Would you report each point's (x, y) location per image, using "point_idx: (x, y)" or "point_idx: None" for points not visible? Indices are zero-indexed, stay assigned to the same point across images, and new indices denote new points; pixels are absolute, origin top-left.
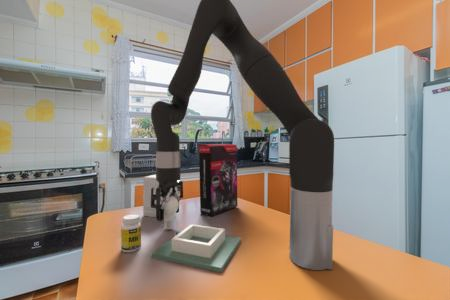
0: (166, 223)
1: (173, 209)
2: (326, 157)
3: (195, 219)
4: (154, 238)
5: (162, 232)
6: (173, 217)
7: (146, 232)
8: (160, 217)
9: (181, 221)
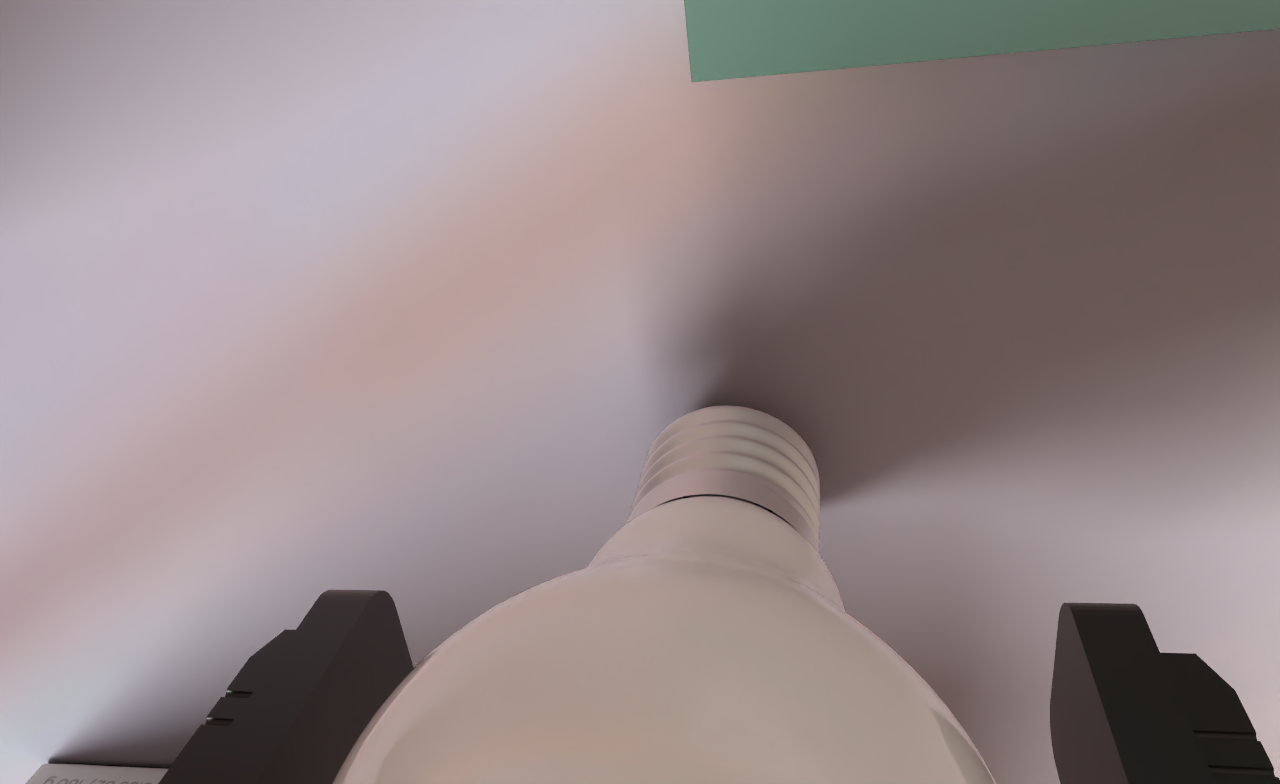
0: (813, 547)
1: (813, 642)
2: None
3: (32, 269)
4: (1214, 458)
5: (901, 482)
6: (676, 520)
7: (1001, 705)
8: (1215, 707)
9: (290, 459)
